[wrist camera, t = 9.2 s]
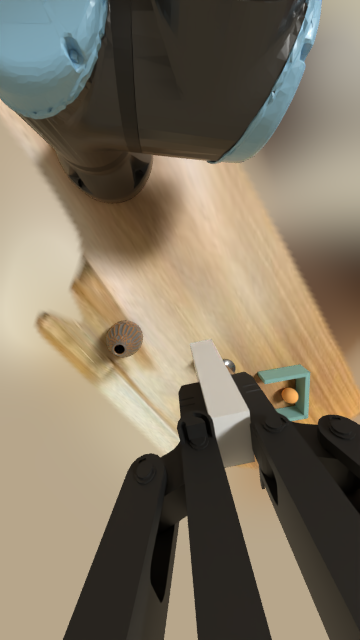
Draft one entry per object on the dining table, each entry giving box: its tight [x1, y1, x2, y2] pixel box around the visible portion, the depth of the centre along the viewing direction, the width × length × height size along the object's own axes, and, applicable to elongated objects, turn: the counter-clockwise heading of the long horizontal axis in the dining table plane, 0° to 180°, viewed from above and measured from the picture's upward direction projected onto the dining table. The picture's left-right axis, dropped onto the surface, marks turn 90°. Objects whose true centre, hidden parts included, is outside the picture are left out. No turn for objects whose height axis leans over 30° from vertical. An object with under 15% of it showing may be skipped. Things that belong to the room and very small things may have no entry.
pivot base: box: [223, 359, 235, 372], centre depth 47 cm, size 5×5×1 cm
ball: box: [282, 388, 298, 403], centre depth 49 cm, size 4×4×4 cm
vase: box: [106, 321, 143, 357], centre depth 39 cm, size 7×7×9 cm
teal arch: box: [258, 365, 310, 421], centre depth 49 cm, size 13×10×4 cm
